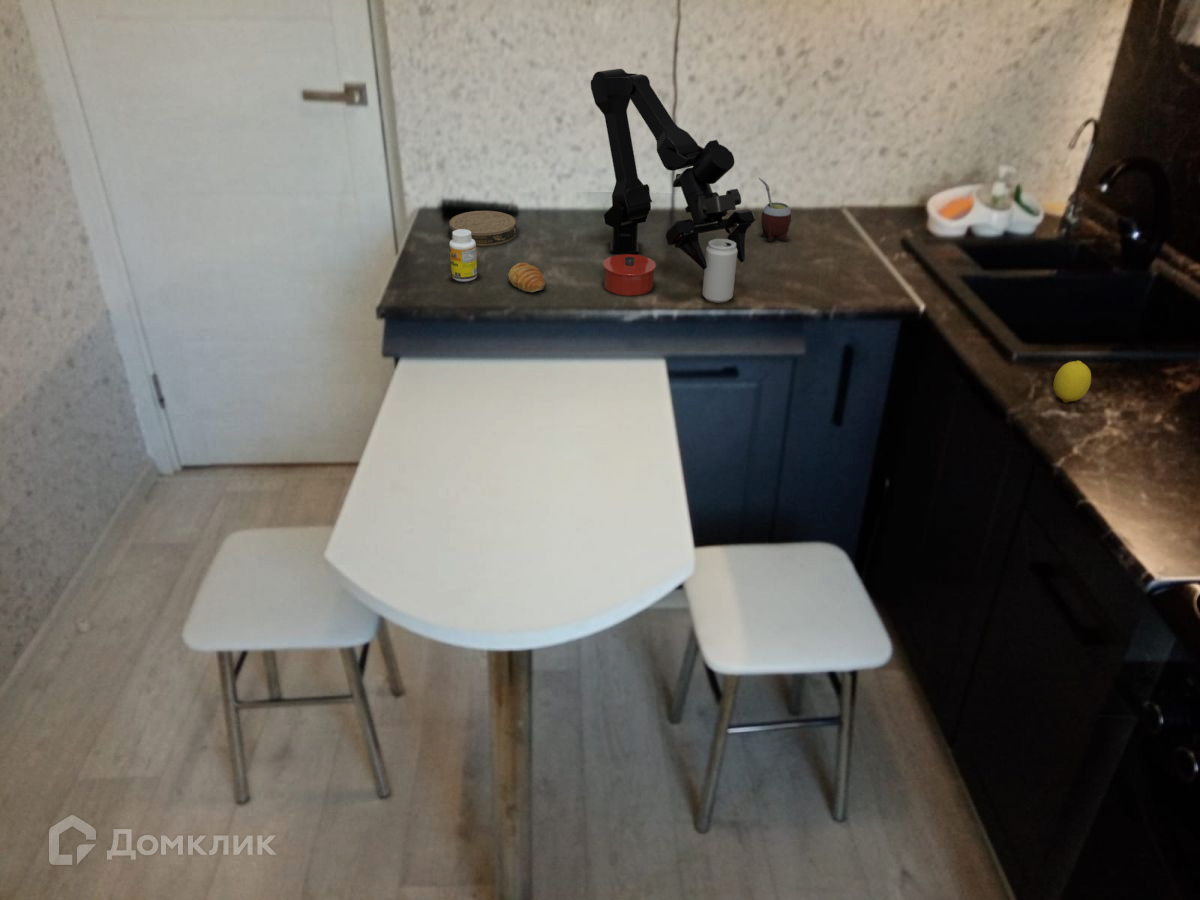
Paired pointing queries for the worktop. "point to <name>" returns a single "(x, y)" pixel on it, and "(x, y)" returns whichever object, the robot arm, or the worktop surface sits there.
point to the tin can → (485, 226)
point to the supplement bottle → (463, 256)
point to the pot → (628, 283)
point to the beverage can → (720, 270)
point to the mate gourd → (775, 219)
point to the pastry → (526, 277)
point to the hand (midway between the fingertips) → (724, 264)
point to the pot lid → (629, 265)
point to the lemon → (1072, 381)
